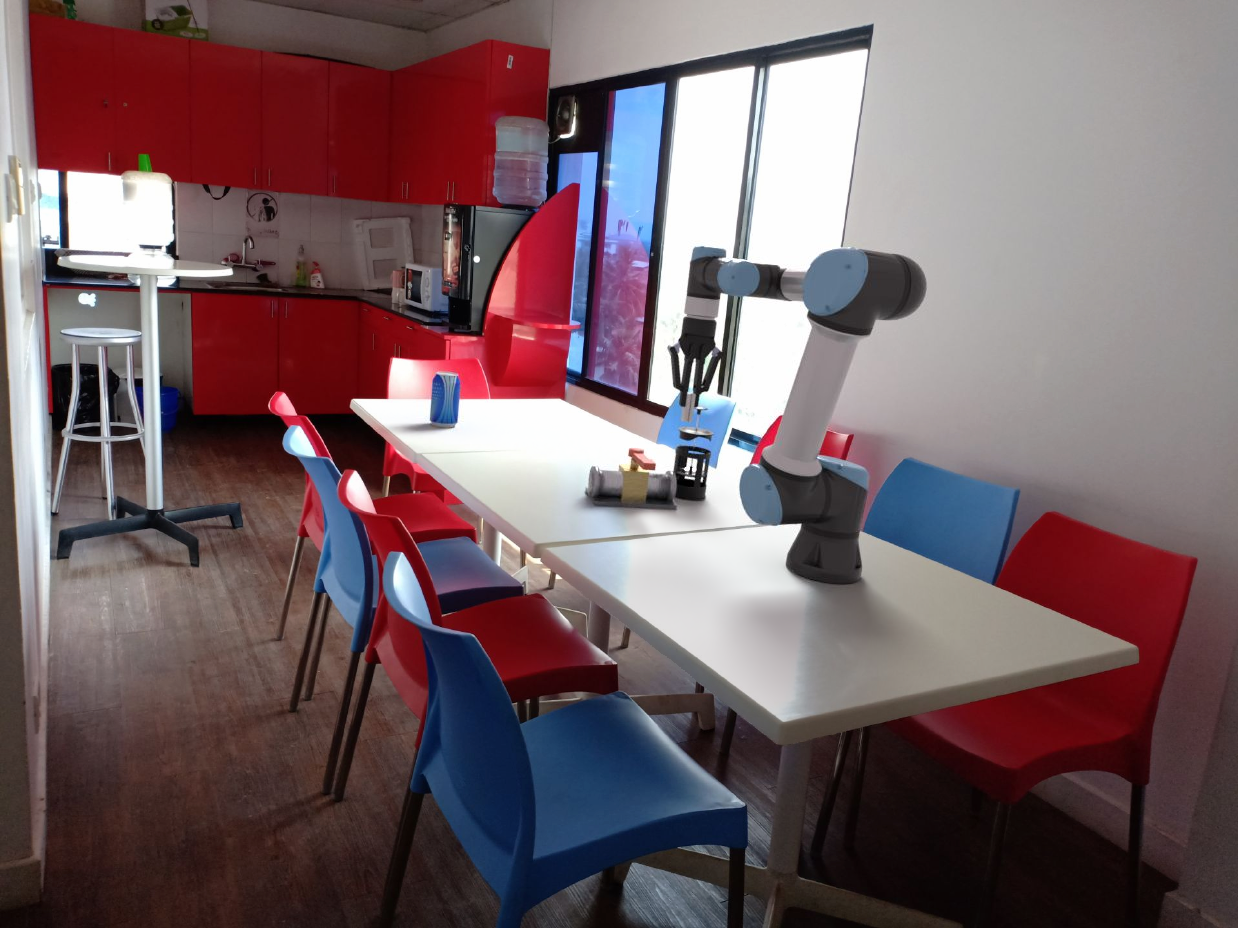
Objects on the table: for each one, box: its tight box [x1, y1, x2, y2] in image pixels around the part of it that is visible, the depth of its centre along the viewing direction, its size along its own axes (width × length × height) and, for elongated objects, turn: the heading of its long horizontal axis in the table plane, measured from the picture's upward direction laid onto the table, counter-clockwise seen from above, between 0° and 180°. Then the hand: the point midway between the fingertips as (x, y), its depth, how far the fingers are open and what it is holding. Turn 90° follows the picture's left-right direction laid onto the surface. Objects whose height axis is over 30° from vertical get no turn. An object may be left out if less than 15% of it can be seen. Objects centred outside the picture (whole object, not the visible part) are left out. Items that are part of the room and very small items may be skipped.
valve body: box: [584, 457, 678, 511], centre depth 223 cm, size 20×12×10 cm, turn 103°
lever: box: [627, 447, 657, 471], centre depth 216 cm, size 15×4×2 cm, turn 13°
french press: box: [673, 405, 715, 502], centre depth 233 cm, size 12×9×23 cm
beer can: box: [429, 371, 462, 429], centre depth 281 cm, size 8×8×16 cm
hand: (686, 421), depth 211 cm, fingers closed
